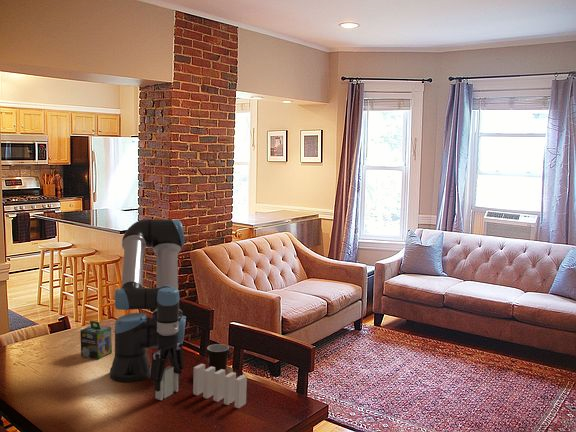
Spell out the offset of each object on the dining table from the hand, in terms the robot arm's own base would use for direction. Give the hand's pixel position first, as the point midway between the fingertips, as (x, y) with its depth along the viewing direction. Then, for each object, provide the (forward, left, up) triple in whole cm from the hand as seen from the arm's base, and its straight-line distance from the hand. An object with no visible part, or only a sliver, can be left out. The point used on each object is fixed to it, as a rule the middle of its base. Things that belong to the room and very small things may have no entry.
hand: (167, 394), depth 189 cm
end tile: (0, 0, 0) cm, 0 cm away
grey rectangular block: (+26, +8, 0) cm, 27 cm away
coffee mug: (+2, +28, -1) cm, 28 cm away
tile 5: (+22, +8, 0) cm, 23 cm away
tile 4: (+17, +8, 0) cm, 19 cm away
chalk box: (-51, +13, -1) cm, 53 cm away
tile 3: (+13, +8, 0) cm, 15 cm away
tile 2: (+8, +8, 0) cm, 11 cm away
